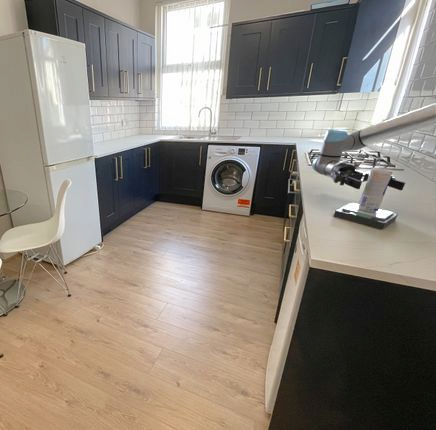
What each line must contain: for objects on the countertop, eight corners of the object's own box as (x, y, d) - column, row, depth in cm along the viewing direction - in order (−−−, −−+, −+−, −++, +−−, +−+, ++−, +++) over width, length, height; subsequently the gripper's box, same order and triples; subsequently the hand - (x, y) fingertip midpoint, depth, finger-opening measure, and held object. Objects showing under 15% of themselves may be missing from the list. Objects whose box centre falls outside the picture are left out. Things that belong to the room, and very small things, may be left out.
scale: (395, 220, 100) (398, 212, 99) (382, 230, 92) (385, 221, 91) (348, 209, 110) (350, 201, 109) (333, 216, 103) (335, 208, 102)
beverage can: (381, 213, 98) (398, 171, 92) (363, 212, 99) (378, 170, 93) (371, 207, 103) (385, 167, 97) (354, 206, 104) (367, 167, 98)
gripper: (370, 181, 115) (416, 197, 96) (306, 179, 118) (338, 195, 98) (377, 163, 112) (425, 176, 93) (311, 161, 115) (345, 174, 95)
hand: (381, 185), depth 96 cm, fingers open, 13 cm apart
